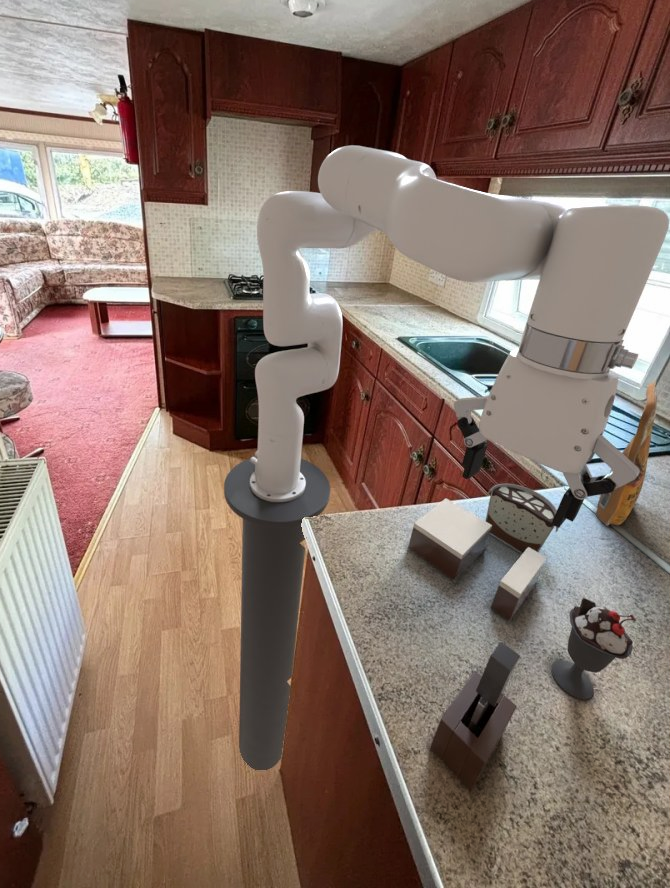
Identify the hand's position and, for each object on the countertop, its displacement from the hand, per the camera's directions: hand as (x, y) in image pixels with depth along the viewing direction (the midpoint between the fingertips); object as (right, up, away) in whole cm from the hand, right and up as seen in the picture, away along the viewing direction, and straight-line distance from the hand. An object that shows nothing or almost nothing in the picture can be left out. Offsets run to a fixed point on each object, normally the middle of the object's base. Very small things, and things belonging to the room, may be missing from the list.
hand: (512, 495), depth 45 cm
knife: (-4, -30, +3) cm, 30 cm away
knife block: (-4, -30, +3) cm, 30 cm away
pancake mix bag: (+45, -15, +44) cm, 65 cm away
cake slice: (+12, -22, +22) cm, 33 cm away
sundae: (+14, -28, +10) cm, 32 cm away
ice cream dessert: (+19, -17, +34) cm, 42 cm away
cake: (+4, -18, +30) cm, 35 cm away
